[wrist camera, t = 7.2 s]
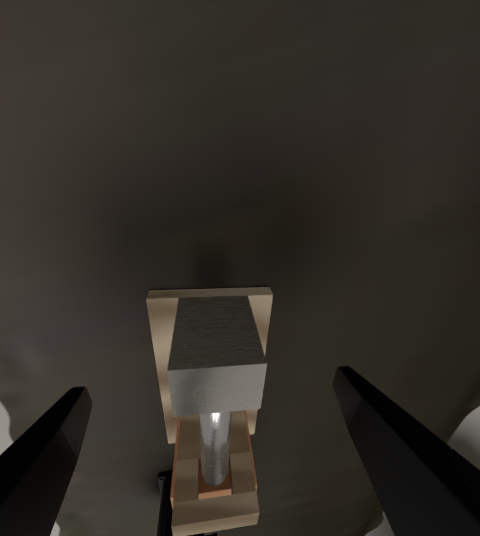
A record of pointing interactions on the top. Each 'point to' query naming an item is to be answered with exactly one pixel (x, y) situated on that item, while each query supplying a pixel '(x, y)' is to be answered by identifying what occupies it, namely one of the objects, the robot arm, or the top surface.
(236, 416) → the bracket
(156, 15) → the top surface
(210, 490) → the spacer
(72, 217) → the top surface
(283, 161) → the top surface
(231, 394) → the shaft
